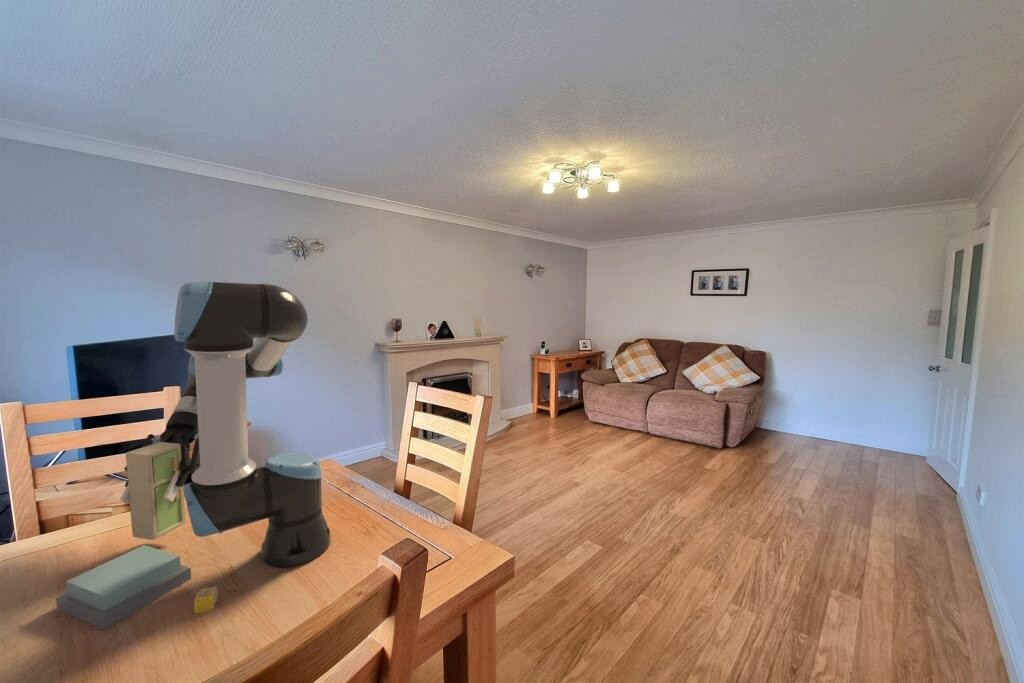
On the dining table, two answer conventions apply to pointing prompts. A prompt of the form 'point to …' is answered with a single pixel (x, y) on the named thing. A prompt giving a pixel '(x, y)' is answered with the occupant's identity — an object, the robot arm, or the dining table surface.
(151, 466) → the toy refrigerator
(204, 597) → the alphabet block
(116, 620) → the brick stand
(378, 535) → the dining table surface
